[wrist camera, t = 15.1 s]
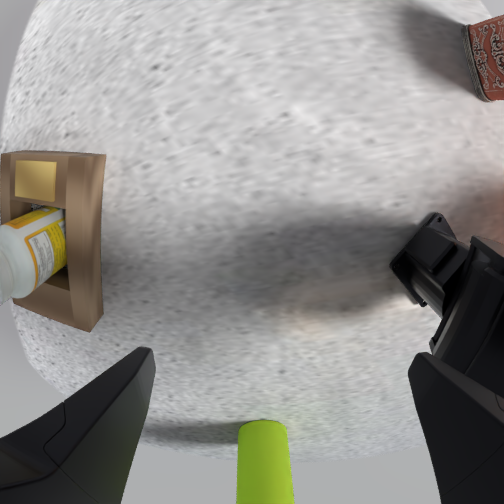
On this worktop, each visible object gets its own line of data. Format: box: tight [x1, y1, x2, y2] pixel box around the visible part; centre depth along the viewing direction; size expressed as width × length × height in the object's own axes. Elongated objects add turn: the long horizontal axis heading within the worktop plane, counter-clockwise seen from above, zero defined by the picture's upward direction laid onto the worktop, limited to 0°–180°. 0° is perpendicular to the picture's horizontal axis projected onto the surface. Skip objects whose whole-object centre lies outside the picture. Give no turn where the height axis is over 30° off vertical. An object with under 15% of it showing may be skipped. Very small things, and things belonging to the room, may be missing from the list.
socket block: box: [0, 150, 106, 333], centre depth 18 cm, size 14×10×3 cm
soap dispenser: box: [236, 420, 294, 504], centre depth 20 cm, size 6×7×20 cm
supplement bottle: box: [0, 206, 67, 306], centre depth 16 cm, size 5×5×10 cm
